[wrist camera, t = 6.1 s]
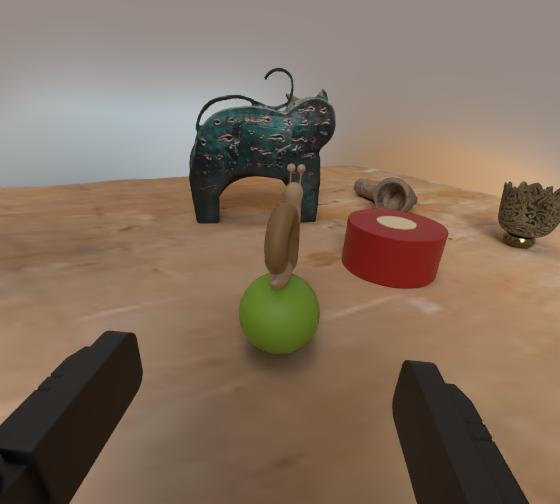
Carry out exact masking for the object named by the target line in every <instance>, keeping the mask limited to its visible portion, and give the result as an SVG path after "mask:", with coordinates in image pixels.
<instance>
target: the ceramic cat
mask: <svg viewBox="0 0 560 504" xmlns="http://www.w3.org/2000/svg"><path fill="white" fill-rule="evenodd" d="M275 71H283V72H285V73H286V74H287V75H288V76H289V77H290V79H291V84H292V89H291V93H290V95H289V94H286V97H287V99H288V102H287V103H285V104H282V105H280V106H276V107H271V106H267V105H265V104H262V103H260V102H257V101H254V100H253V99H251V98H248V97H245V96H241V95H227V96H222V97H218V98H215V99H213V100H210V101H209V102H208V103H207V104H206V105H205V106H204V107H203V109H202V110H201V111H200V114H199V116H198V119H197V123H196V130H197V135H196V139H195V144H194V146H193V148H192V151H191V155H190V175H189V180H190V186H191V192H192V198H193V203H194V208H195V213H196V219H197V222H198V223H218V222H219V205H220V204H219V197H220V195H221V193H222V192H223V191H224V190H225V188H226V187H228V186H229V185H230V184H231V183H233V182H235V181H237V180H239V179H242V178H245V177H253V176H262V177H270V178H276V179H280V180H282V181H283V182H284V184H285V185H286V186H287V185H288V184H290V172H289V171H288V169H287V166H288V165H289V164H294V165H295V171H293V172H292V175H291V183H292V182H296V183H298V184H299V182H300V173H299V172H298V170H297V167H298V166H299V165H301V164H302V165H304V166H305V171H304V172H303V173H302V175H301V187H302V189H303V197H302V200H301V217H300V222H301V221H315V220H316V213H317V207H318V195H319V186H320V156H319V152H320V149H321V148H322V147H323V146H324V145H325V144H326V143H327V142H328V141H329V140H330V139H331V137H332V136H333V133H334V130H335V111H334V109H333V107H332V106H331V104H329V103H328V97H327V93H326V92H325V91H324V89H322V90H321V92H320V93H319V94H318V95H317V96H316V97H309V98H305V99H299V98H296V97H294V96H293V79H292V76H291V75H290V73H289V72H288V71H286V70H285V69H282V68H275V69H272V70H270V71H269V72H268V73H267V74H266V76H265V77H264V78H265V79H267V77H268V76H269V75H270V74H272V73H273V72H275ZM232 98H239V99H245V100H247V101H250V102H251V103H252V105H251V106H242V107H234V108H228V109H224V110H221V111H219V112H217V113H215V114H213V115H212V116H211V117H209V119H207V120H206V122H205V123H204V124H203V125H201V126H199V122H200V118H201V116H202V114H203V113H204V111H205V110H206V109H207V108H208V107H209V106H210V105H212V104H213V103H215V102H218V101H222V100H227V99H232ZM285 106H286V107H287V108H286V109H285V110H284V111H278V109H280V108H282V107H285Z"/></svg>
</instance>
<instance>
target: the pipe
mask: <svg viewBox="0 0 560 504" xmlns="http://www.w3.org/2000/svg"><path fill="white" fill-rule="evenodd" d="M354 190H355V192H356V193H358V194H359V195H362V196H364V197H366V198H369V199H372V200H374V203H375V209H386V210H395V211H402V212H406V211H407V210H409V209H410V208H411V207H412V206H413V205H414V204H416V203H417V197H416V195H415V193H414V191H413V190H412V188H411V187H410V186H409V185H408V184H407V183H405V182H404V181H403V180H401V179H399V178H387V179H384V180H382V181H381V182H380V181H374V180H368V179H359V180H357V181H356V182H355V184H354Z"/></svg>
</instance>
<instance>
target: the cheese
mask: <svg viewBox="0 0 560 504" xmlns="http://www.w3.org/2000/svg"><path fill="white" fill-rule="evenodd" d="M447 237H448V230H447V229H446V228H445V227H444V226H443V225H441V224H440V223H438V222H436V221H434V220H431V219H429V218H426V217H423V216H420V215H416V214H412V213H407V212H402V211H395V210H386V209H366V210H359V211H356V212H353V213H351V214H350V215H349V217H348V222H347V229H346V235H345V242H344V248H343V255H342V262H343V264H344V265H345V267H346V268H347V269H348V270H349V271H350V272H352V273H353V274H355V275H357V276H358V277H360V278H363V279H365V280H367V281H370V282H373V283H376V284H380V285H384V286H389V287H396V288H417V287H423V286H426V285H428V284H430V283H431V282H433V280H434V279H435V276H436V273H437V269H438V266H439V263H440V260H441V256H442V253H443V250H444V246H445V243H446V240H447Z"/></svg>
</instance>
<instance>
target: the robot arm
mask: <svg viewBox="0 0 560 504" xmlns="http://www.w3.org/2000/svg"><path fill="white" fill-rule="evenodd" d="M142 376H143V370H142V364H141V359H140V353H139V348H138V342H137V338H136V335H135V334H134V333H129V332H119V331H106V332H104V333H103V334H102V335H101V336H100V337H99V338H98V339H97V340H96V341H95V342H94V344H93V345H92V346H91V347H86V346H85V347H84V348H82V349H81V350H79V351H77V352H76V353H74V354H73V355H71V356H69V357H68V358H66V359H65V360H64V361H63V362H62V363H61V364H60V365H59V366H58V367H57V368H56V369H55V370H54V371H53V372H52V373H51V376H50V377H47V378H46V379H45V380H44V382H43V383H42V384H41V385H40V386H39V387H38V390H35V391H34V392H33V393H32V394H31V395H30V396H29V397H28V398H27V399H26V400H25V401H24V402H23V403H22V404H21V405H20V406H19V407H18V408H17V409H16V410H15V411H14V412H13V413H12V414H11V415H10V416H9V417H8V418H7V419H6V420H5V421H4V422H3V423H2V424H1V425H0V504H69V503H70V501H71V500H72V498H73V496H74V495H75V493H76V491H77V490H78V488H79V487H80V485H81V483H82V482H83V480H84V478H85V477H86V475H87V474H88V472H89V470H90V469H91V467H92V465H93V464H94V462H95V460H96V459H97V457H98V456H99V454H100V452H101V451H102V449H103V447H104V446H105V444H106V442H107V441H108V439H109V438H110V436H111V434H112V433H113V431H114V429H115V428H116V426H117V425H118V423H119V421H120V420H121V418H122V416H123V415H124V413H125V411H126V410H127V408H128V407H129V405H130V403H131V402H132V400H133V398H134V397H135V395H136V393H137V392H138V390H139V387H140V385H141V381H142ZM392 410H393V418H394V422H395V426H396V429H397V433H398V437H399V440H400V444H401V447H402V451H403V455H404V458H405V462H406V465H407V469H408V473H409V476H410V480H411V483H412V487H413V491H414V494H415V498H416V501H417V504H529V502H528V500H527V499H526V497H525V495H524V493H523V492H522V490H521V488H520V486H519V485H518V483H517V481H516V479H515V477H514V476H513V474H512V472H511V470H510V469H509V467H508V465H507V463H506V462H505V460H504V458H503V456H502V454H501V453H500V451H499V449H498V447H497V446H496V444H495V442H493V441H492V437H491V435H490V433H489V431H488V430H487V428H486V426H485V425H483V423H482V419H481V417H480V416H479V414H478V412H477V410H476V409H475V407H474V405H473V403H472V401H471V400H470V399H469V398H468V397H467V396H466V395H465V394H464V393H463V392H462V391H461V390H460V389H459V388H458V387H457V386H456V385H455V384H446V383H445V382H444V380H443V378H442V376H441V374H440V372H439V370H438V368H437V366H436V365H435V364H434V363H431V362H421V361H410V360H405V361H404V362H403V364H402V368H401V371H400V375H399V378H398V382H397V385H396V389H395V392H394V396H393V403H392Z"/></svg>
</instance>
